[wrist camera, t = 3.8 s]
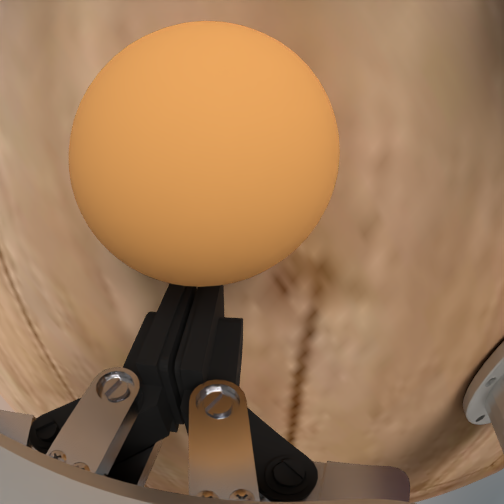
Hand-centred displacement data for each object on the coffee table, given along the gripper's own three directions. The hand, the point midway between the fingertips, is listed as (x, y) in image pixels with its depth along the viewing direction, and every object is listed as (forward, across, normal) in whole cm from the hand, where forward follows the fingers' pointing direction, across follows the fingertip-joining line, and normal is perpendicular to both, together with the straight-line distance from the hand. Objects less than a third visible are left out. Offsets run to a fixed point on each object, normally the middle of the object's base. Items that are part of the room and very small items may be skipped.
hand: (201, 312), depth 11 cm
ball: (-1, -1, -6) cm, 6 cm away
